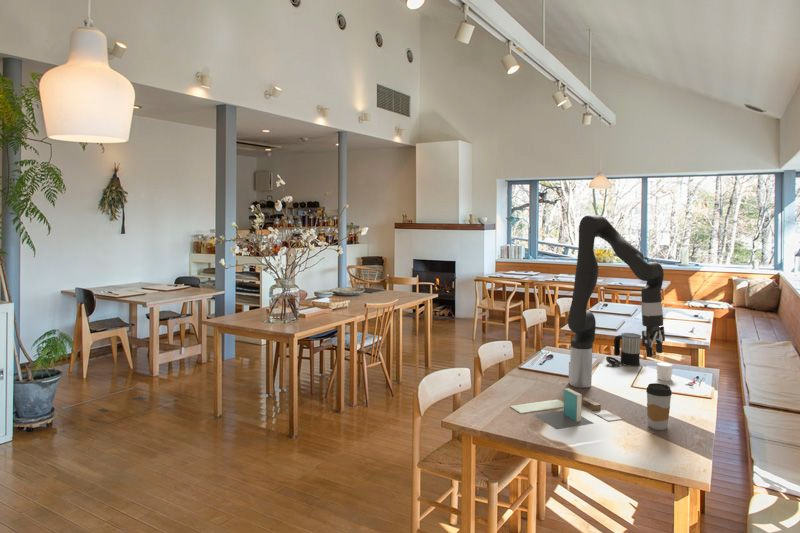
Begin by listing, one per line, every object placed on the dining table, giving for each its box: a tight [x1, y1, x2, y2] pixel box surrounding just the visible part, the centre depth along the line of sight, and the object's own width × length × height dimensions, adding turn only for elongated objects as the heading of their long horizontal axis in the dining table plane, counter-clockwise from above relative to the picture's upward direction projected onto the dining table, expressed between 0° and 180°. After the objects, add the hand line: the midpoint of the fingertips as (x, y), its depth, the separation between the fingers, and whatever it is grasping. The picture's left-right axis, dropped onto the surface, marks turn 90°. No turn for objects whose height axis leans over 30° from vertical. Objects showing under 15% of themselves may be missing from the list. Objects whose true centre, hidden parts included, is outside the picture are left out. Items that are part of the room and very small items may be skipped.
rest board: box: [509, 399, 564, 415], centre depth 227 cm, size 8×22×1 cm, turn 109°
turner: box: [581, 396, 623, 422], centre depth 221 cm, size 19×6×3 cm, turn 19°
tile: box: [563, 387, 583, 422], centre depth 214 cm, size 8×2×10 cm, turn 19°
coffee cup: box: [645, 382, 672, 431], centre depth 206 cm, size 8×8×15 cm
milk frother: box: [605, 332, 642, 367], centre depth 286 cm, size 14×16×15 cm
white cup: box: [656, 361, 674, 382], centre depth 262 cm, size 7×7×7 cm
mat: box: [533, 409, 594, 430], centre depth 214 cm, size 15×16×1 cm
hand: (654, 354), depth 224 cm, fingers open, 8 cm apart
